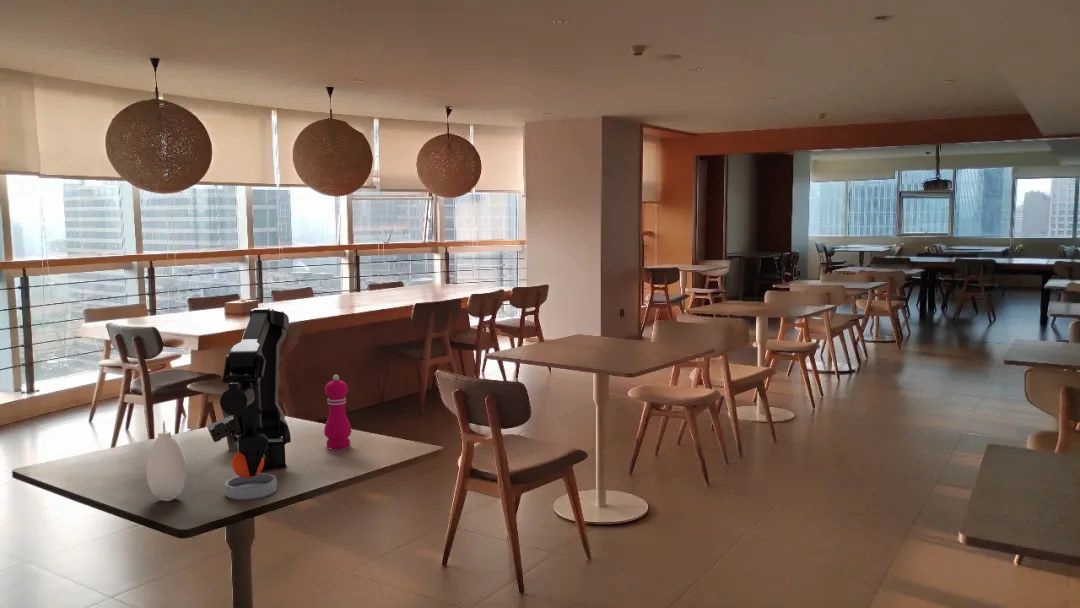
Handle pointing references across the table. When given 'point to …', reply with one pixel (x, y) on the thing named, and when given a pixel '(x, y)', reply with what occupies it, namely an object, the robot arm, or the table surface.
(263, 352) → the robot arm
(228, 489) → the saucer
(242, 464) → the clementine
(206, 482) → the table surface
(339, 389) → the pepper mill
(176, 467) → the white tall egg-shaped piece
